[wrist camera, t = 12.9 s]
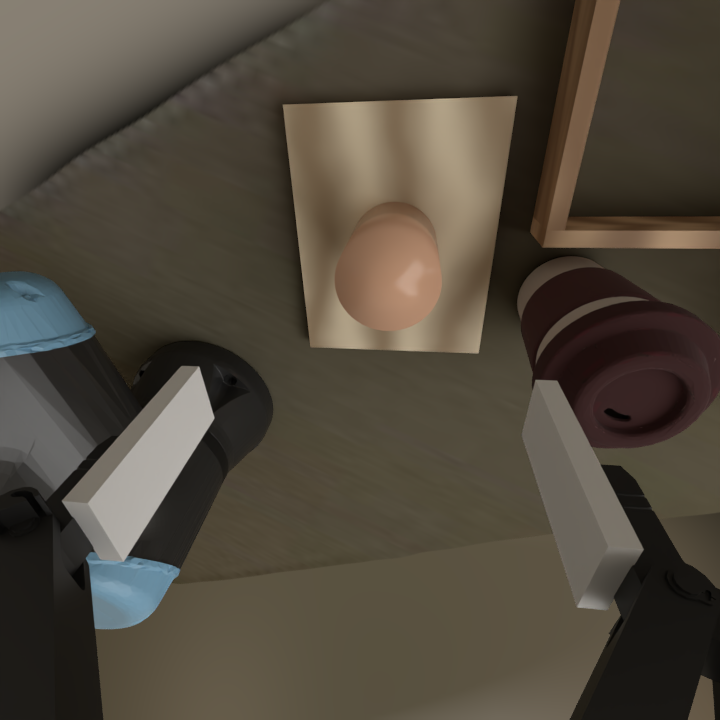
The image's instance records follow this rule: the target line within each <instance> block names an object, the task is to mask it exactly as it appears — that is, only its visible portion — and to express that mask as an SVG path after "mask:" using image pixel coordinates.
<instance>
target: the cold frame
mask: <svg viewBox="0 0 720 720" xmlns="http://www.w3.org/2000/svg"><path fill="white" fill-rule="evenodd" d="M619 4H620V0H575V5H574V10H573V16H572V21H571V26H570V31H569V36H568V41H567V46H566V51H565V56H564V61H563V67H562V72H561V77H560V82H559V87H558V92H557V97H556V102H555V107H554V112H553V117H552V123H551V128H550V133H549V138H548V143H547V148H546V153H545V158H544V163H543V168H542V174H541V179H540V184H539V189H538V194H537V199H536V204H535V209H534V214H533V219H532V225H531V230H530V233H531V234H532V235H533V237H534V238H535V239H536V240H537V241H538V242H539V244H540V245H541V246H542V247H543V248H688V249H720V216H664V217H568V214H569V210H570V206H571V202H572V198H573V194H574V190H575V186H576V181H577V177H578V173H579V169H580V165H581V161H582V157H583V152H584V148H585V144H586V140H587V136H588V132H589V128H590V124H591V119H592V115H593V111H594V107H595V103H596V99H597V95H598V90H599V86H600V82H601V78H602V74H603V70H604V66H605V62H606V57H607V53H608V49H609V45H610V41H611V37H612V33H613V28H614V24H615V20H616V16H617V12H618V8H619Z"/></svg>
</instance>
